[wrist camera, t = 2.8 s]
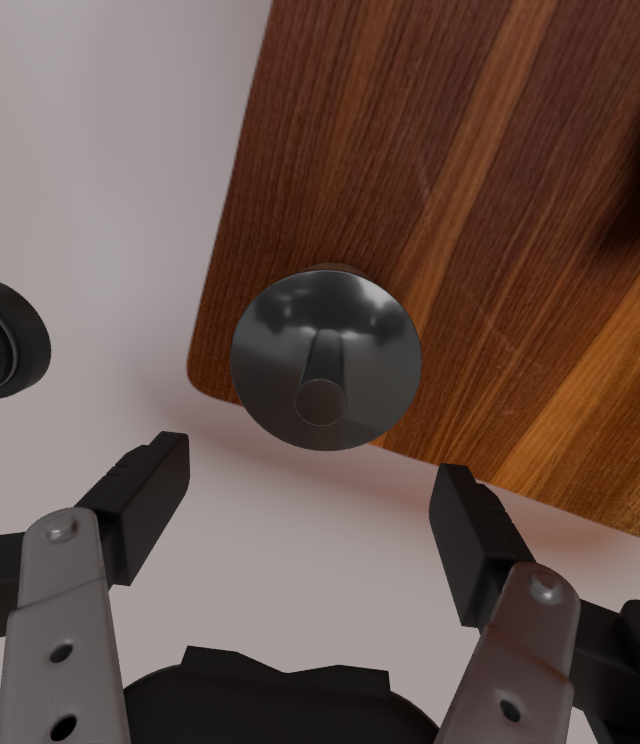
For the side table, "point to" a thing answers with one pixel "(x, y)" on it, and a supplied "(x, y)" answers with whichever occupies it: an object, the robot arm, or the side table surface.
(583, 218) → the side table surface
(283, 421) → the lid
